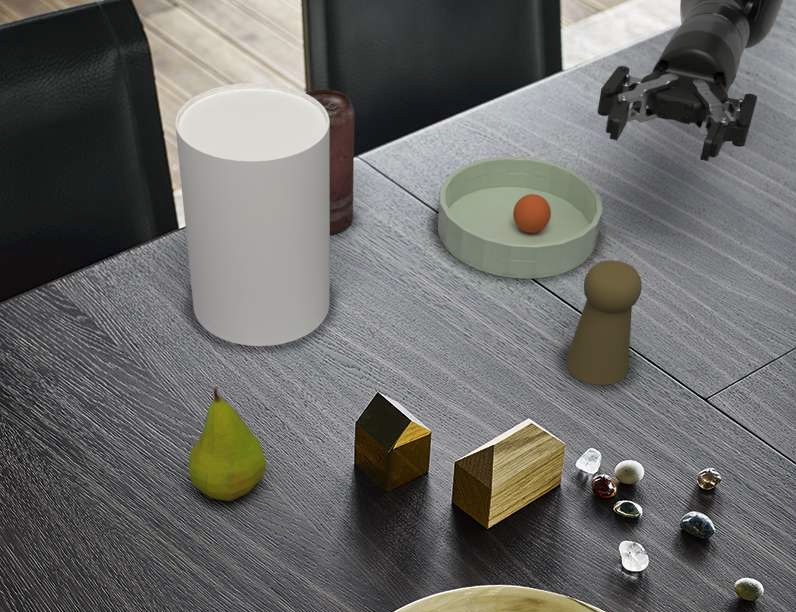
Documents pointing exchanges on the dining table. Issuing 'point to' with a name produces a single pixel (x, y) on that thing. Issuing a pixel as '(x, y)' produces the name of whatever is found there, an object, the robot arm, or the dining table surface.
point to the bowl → (494, 223)
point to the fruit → (226, 454)
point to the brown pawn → (605, 324)
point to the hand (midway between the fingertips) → (660, 141)
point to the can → (339, 156)
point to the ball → (532, 213)
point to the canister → (256, 211)
